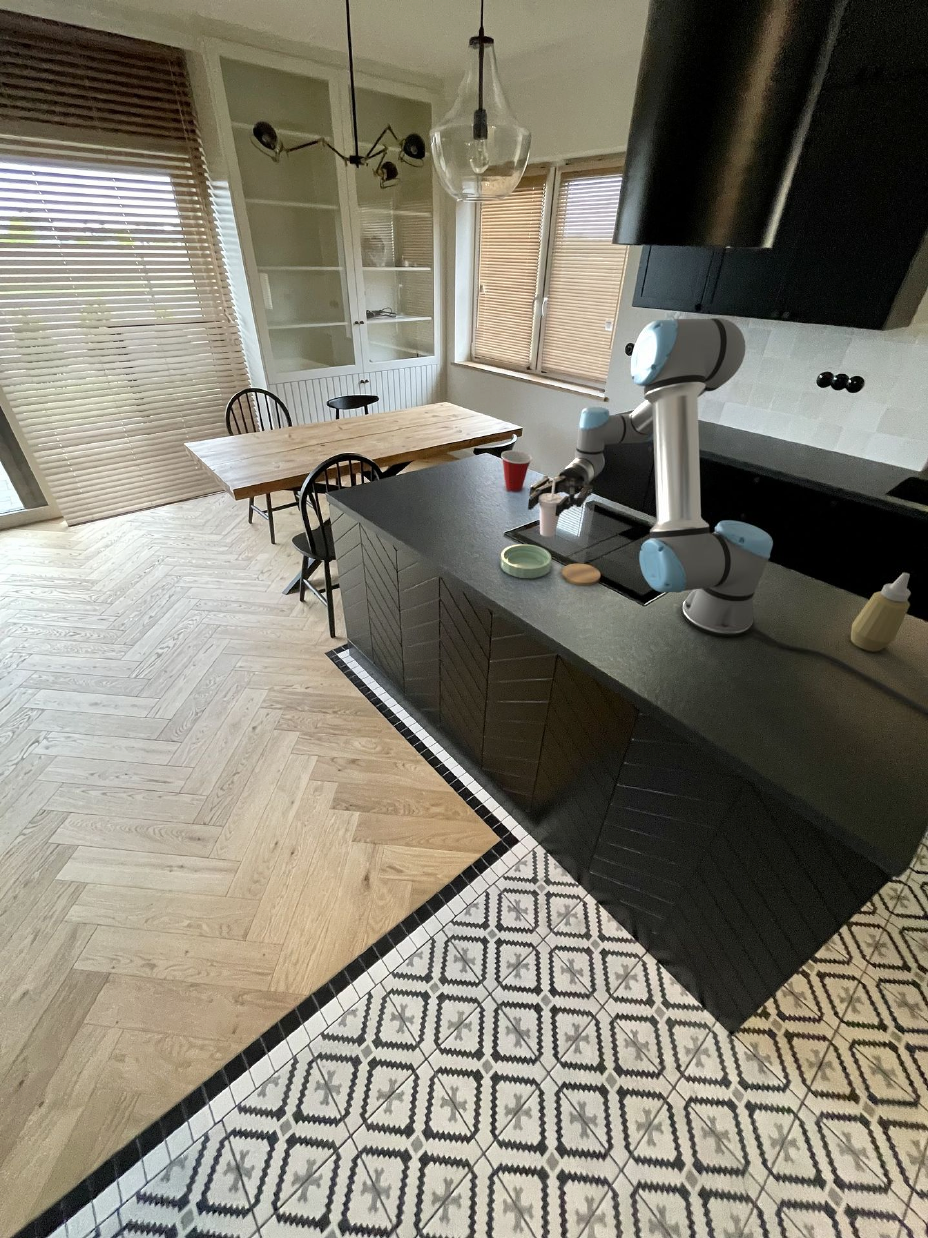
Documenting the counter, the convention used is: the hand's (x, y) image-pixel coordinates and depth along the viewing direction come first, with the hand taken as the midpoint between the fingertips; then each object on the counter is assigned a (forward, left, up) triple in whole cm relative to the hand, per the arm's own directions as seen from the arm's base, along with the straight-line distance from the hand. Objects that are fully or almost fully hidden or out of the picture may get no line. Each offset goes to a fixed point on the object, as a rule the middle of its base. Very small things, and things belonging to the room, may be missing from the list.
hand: (543, 507), depth 127 cm
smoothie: (+2, -5, -9) cm, 11 cm away
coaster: (-6, -11, -20) cm, 23 cm away
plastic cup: (+50, -35, -20) cm, 64 cm away
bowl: (+6, -2, -20) cm, 21 cm away
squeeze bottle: (-63, -42, -20) cm, 78 cm away
